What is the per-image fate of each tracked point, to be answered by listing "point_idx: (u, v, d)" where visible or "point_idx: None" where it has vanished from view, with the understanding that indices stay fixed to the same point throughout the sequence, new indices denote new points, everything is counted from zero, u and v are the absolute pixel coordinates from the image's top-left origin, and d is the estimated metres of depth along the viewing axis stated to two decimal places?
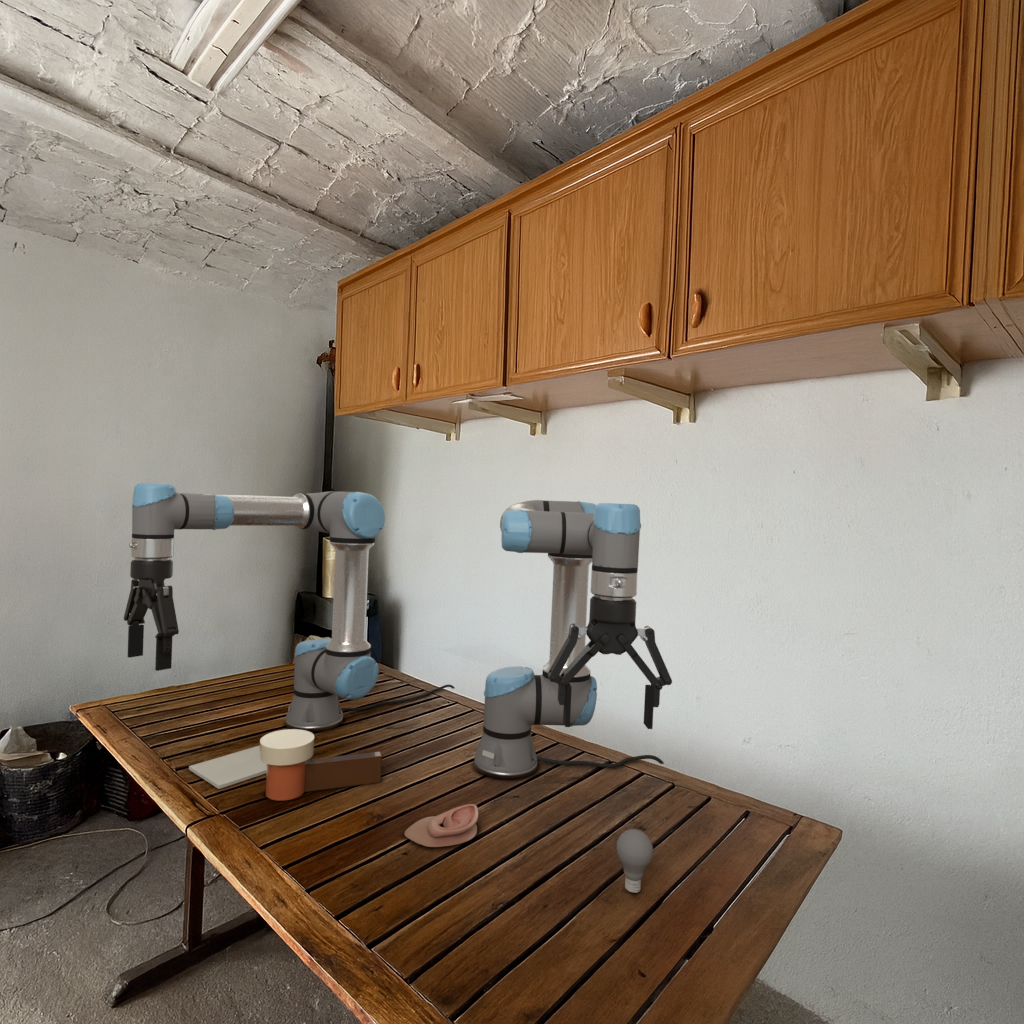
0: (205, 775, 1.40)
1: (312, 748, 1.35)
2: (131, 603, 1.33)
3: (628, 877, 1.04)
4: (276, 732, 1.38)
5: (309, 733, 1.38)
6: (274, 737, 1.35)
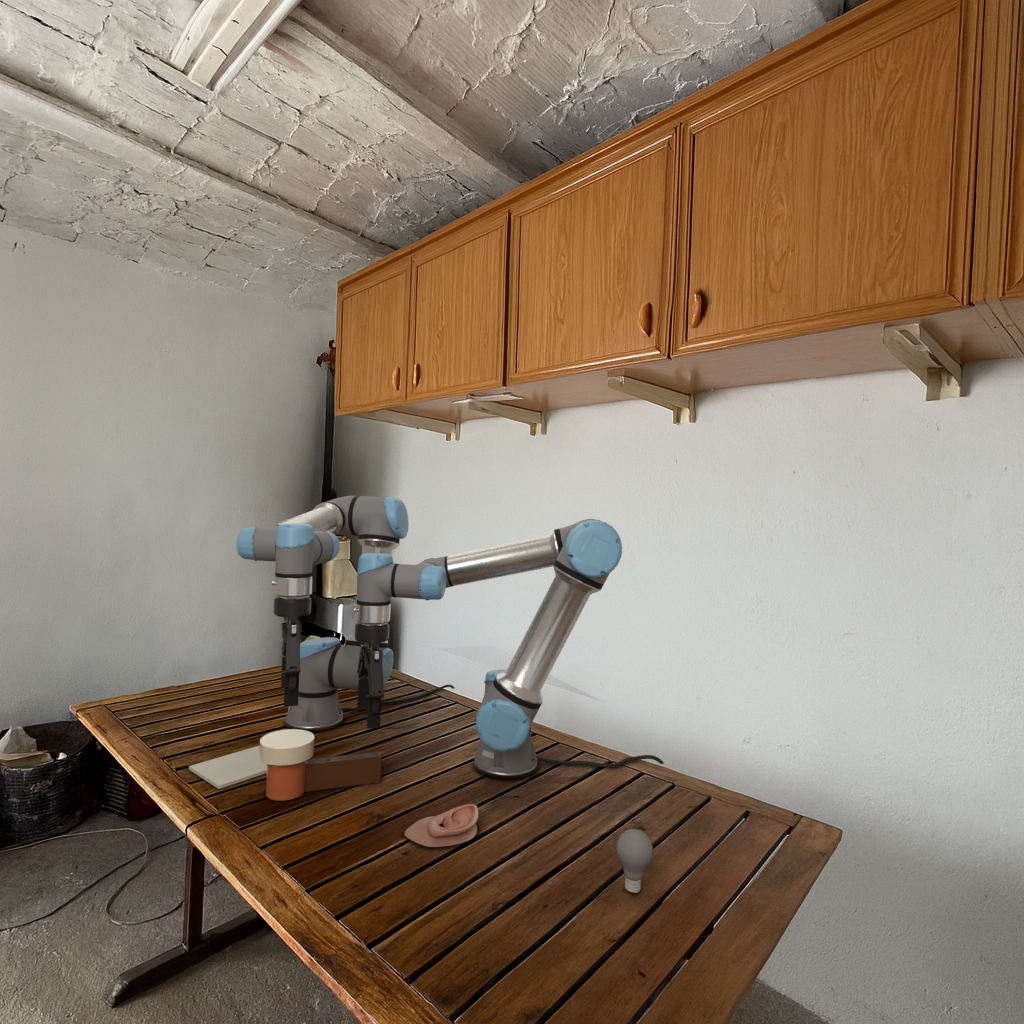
0: (205, 775, 1.40)
1: (312, 748, 1.35)
2: None
3: (628, 877, 1.04)
4: (276, 732, 1.38)
5: (309, 733, 1.38)
6: (274, 737, 1.35)
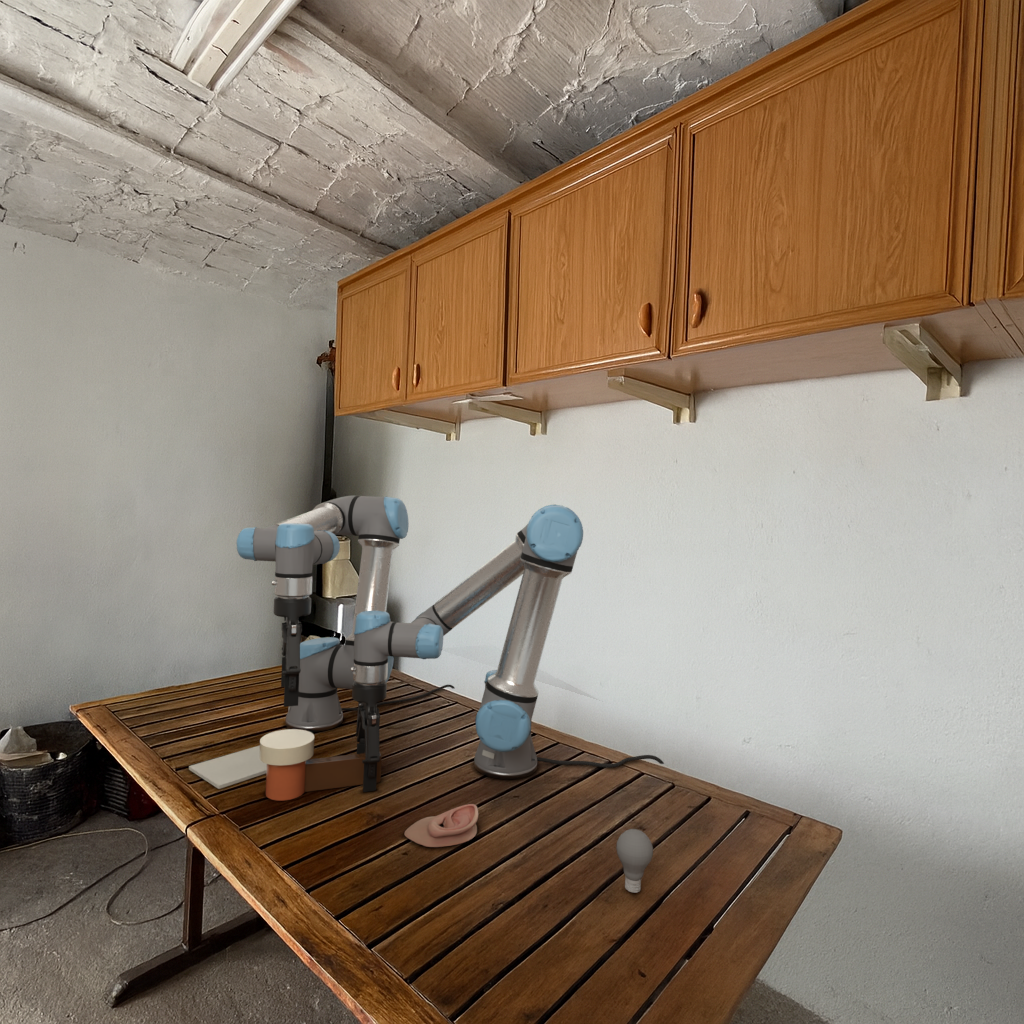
0: (205, 775, 1.40)
1: (312, 748, 1.35)
2: None
3: (628, 877, 1.04)
4: (276, 732, 1.38)
5: (309, 733, 1.38)
6: (274, 737, 1.35)
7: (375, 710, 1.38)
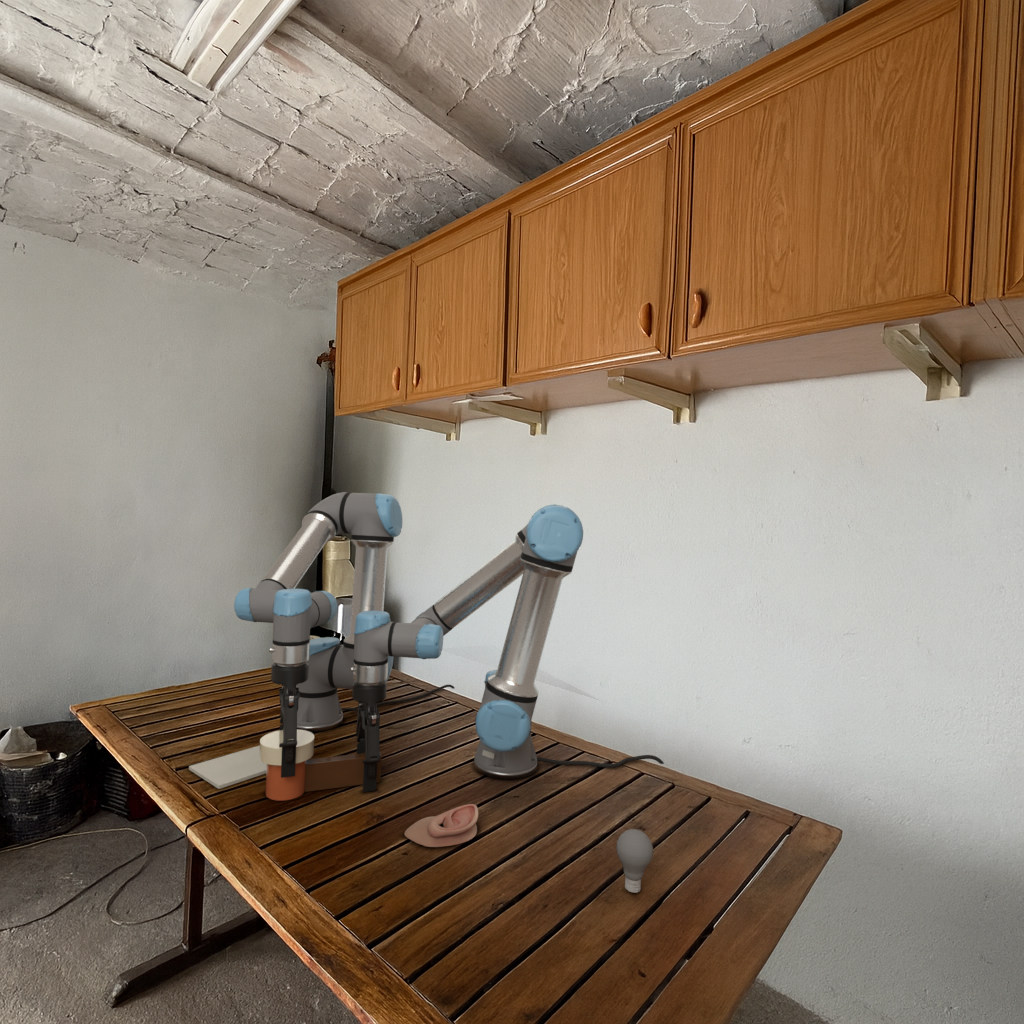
0: (205, 775, 1.40)
1: (312, 748, 1.35)
2: None
3: (628, 877, 1.04)
4: (276, 732, 1.38)
5: (309, 733, 1.38)
6: (274, 737, 1.35)
7: (375, 710, 1.38)
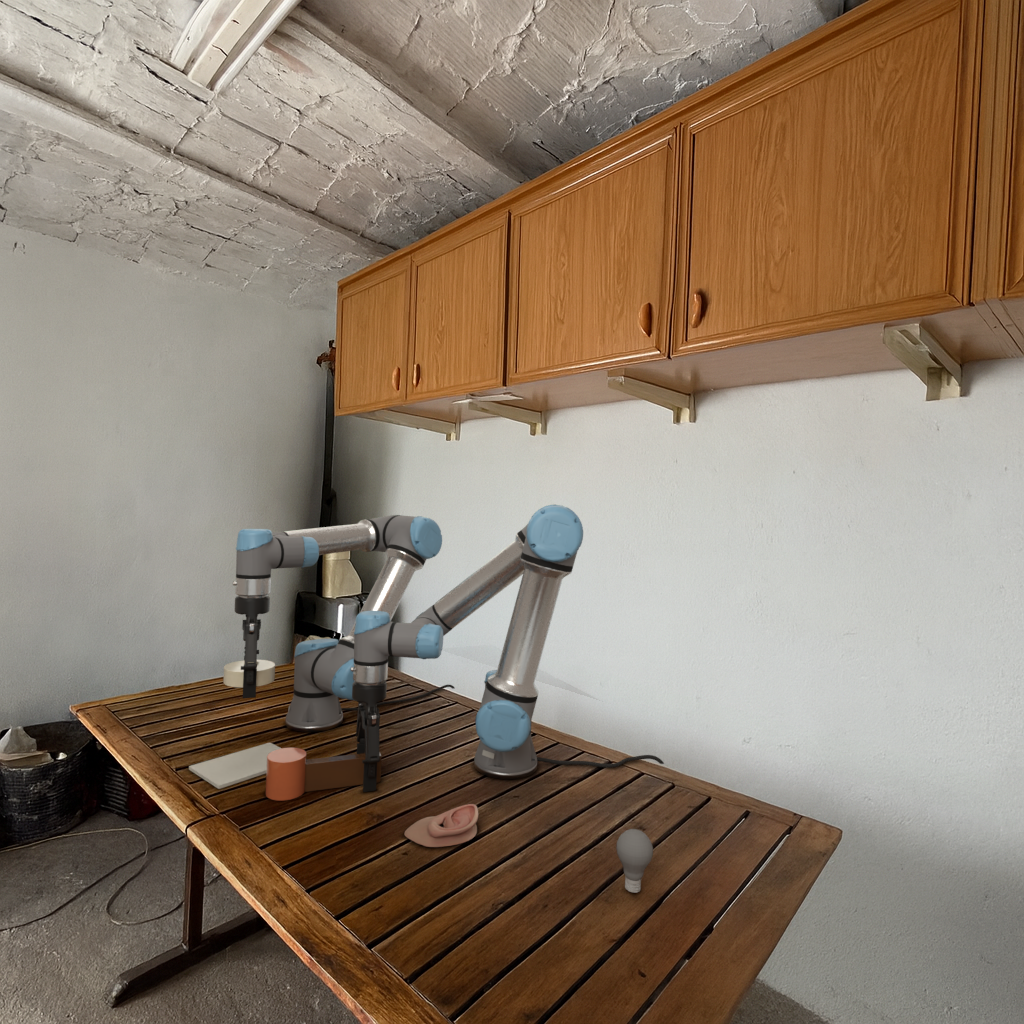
0: (205, 775, 1.40)
1: (272, 674, 1.47)
2: None
3: (628, 877, 1.04)
4: (240, 661, 1.50)
5: (270, 662, 1.50)
6: (237, 664, 1.47)
7: (375, 710, 1.38)
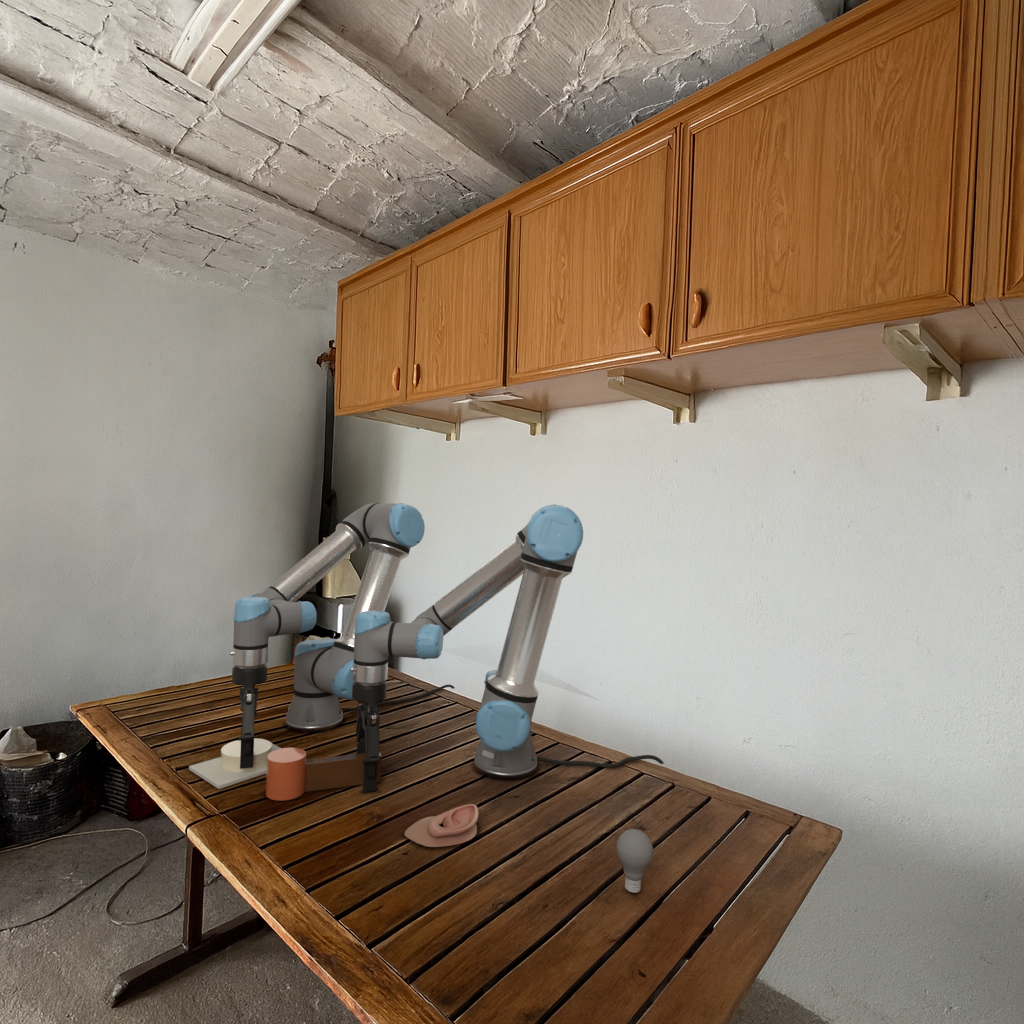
0: (205, 775, 1.40)
1: None
2: None
3: (628, 877, 1.04)
4: (237, 741, 1.50)
5: (267, 742, 1.51)
6: (234, 746, 1.48)
7: (375, 710, 1.38)
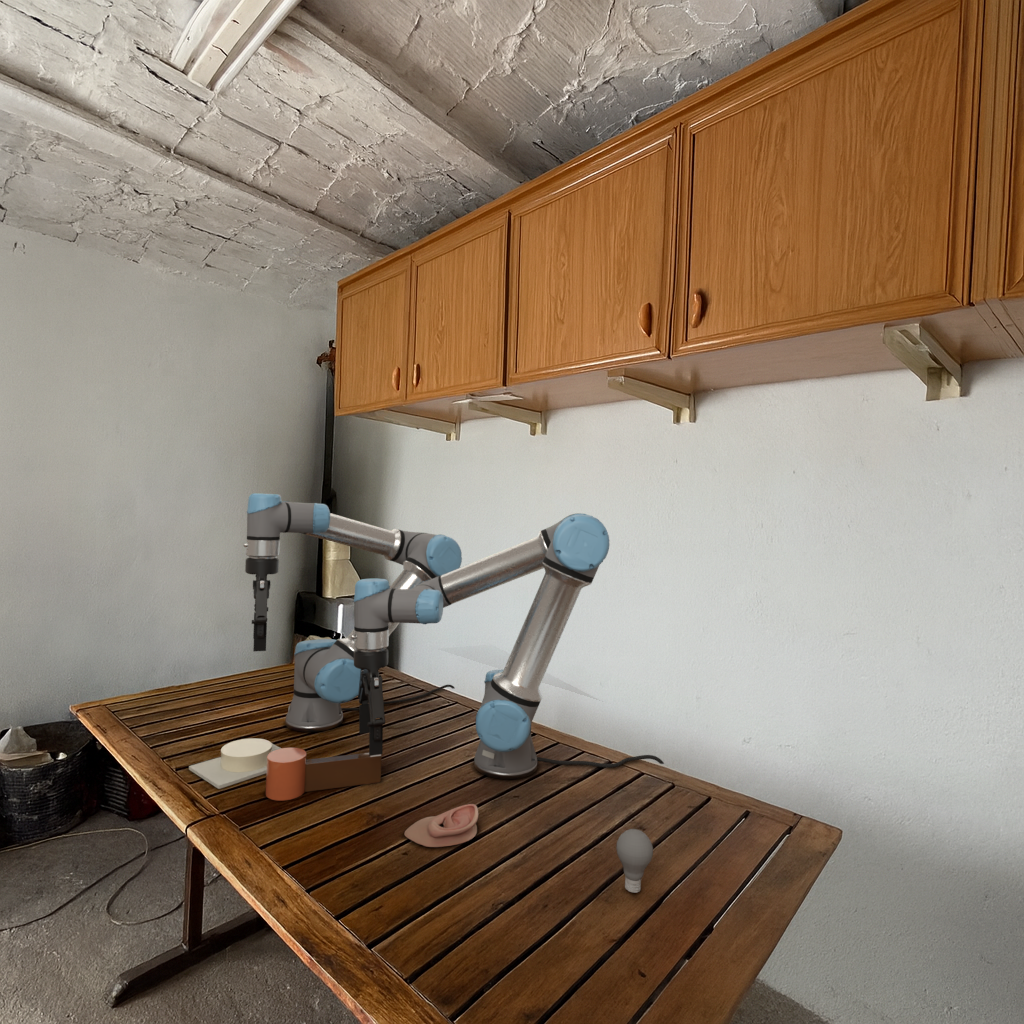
0: (205, 775, 1.40)
1: None
2: None
3: (628, 877, 1.04)
4: (237, 741, 1.50)
5: (267, 742, 1.51)
6: (234, 746, 1.48)
7: (377, 676, 1.38)
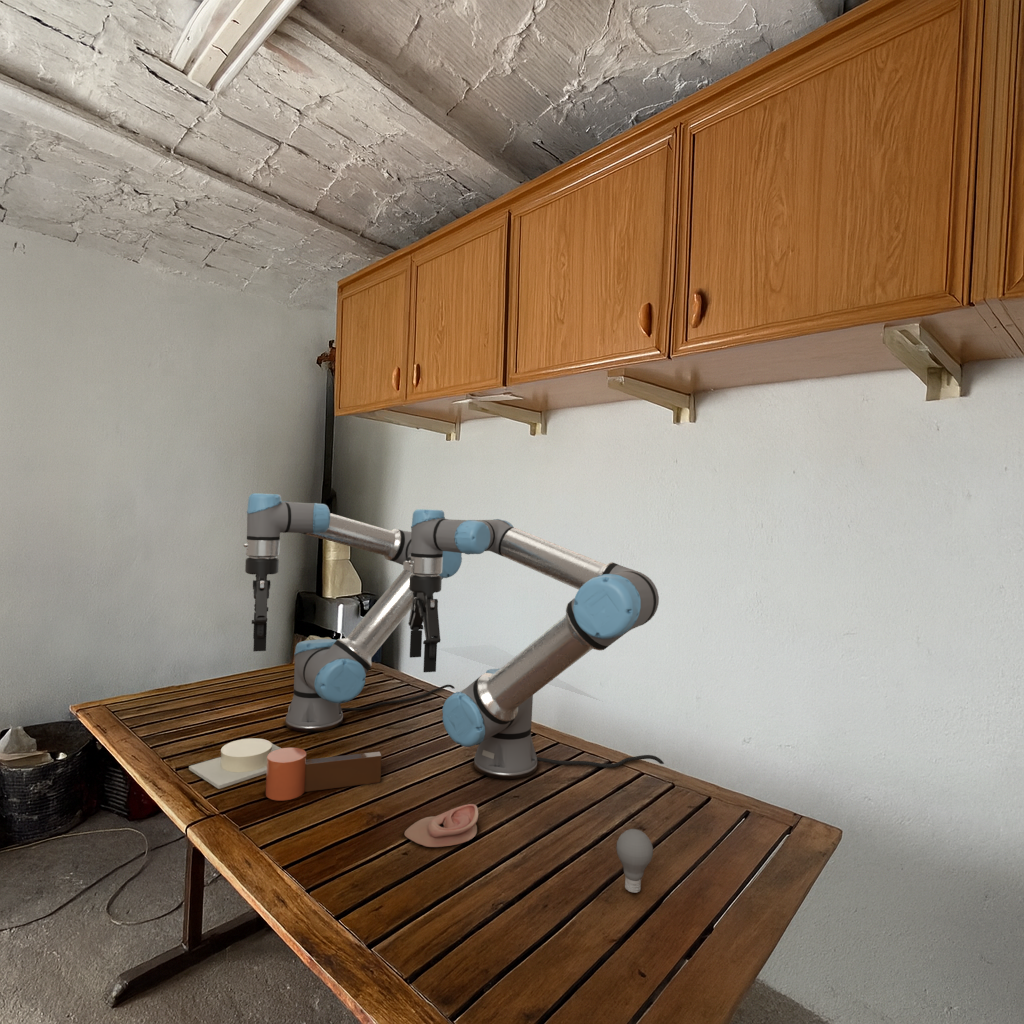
0: (205, 775, 1.40)
1: None
2: None
3: (628, 877, 1.04)
4: (237, 741, 1.50)
5: (267, 742, 1.51)
6: (234, 746, 1.48)
7: None
